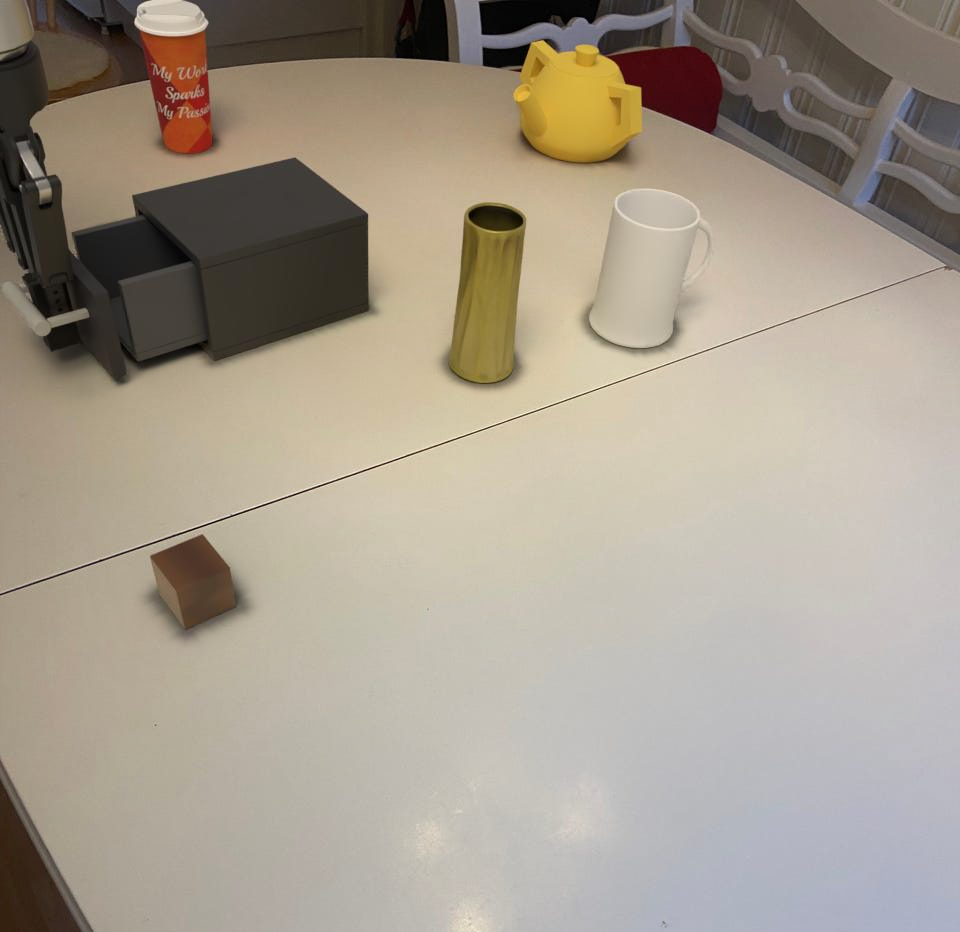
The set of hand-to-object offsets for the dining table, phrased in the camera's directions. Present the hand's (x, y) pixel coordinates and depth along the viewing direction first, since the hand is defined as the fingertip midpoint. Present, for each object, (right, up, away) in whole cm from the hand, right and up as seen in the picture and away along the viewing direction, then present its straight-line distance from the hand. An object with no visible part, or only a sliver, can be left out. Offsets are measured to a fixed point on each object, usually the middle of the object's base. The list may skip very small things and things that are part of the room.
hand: (63, 342), depth 84 cm
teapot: (+47, +37, +39) cm, 72 cm away
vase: (+37, 0, +7) cm, 37 cm away
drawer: (+6, +2, +4) cm, 7 cm away
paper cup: (+2, +33, +31) cm, 45 cm away
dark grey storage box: (+15, +7, +10) cm, 19 cm away
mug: (+53, +6, +14) cm, 55 cm away
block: (+16, -23, -15) cm, 32 cm away
